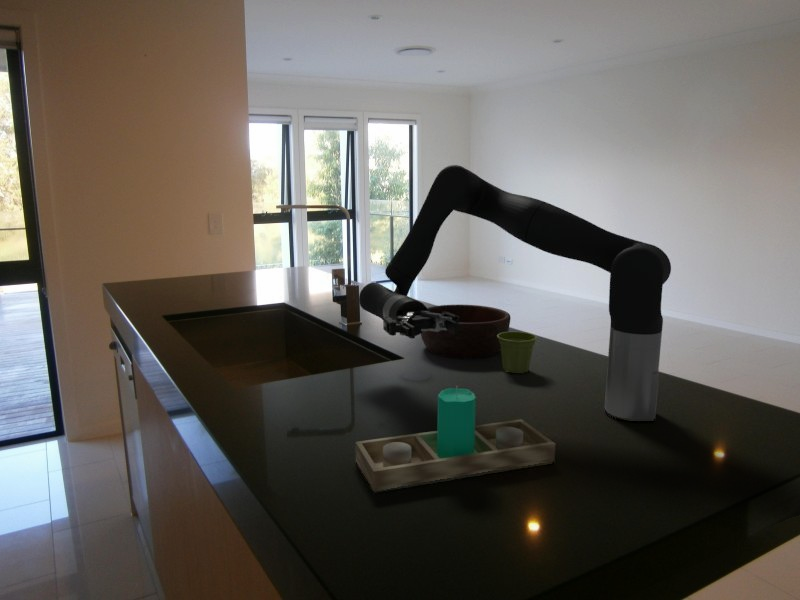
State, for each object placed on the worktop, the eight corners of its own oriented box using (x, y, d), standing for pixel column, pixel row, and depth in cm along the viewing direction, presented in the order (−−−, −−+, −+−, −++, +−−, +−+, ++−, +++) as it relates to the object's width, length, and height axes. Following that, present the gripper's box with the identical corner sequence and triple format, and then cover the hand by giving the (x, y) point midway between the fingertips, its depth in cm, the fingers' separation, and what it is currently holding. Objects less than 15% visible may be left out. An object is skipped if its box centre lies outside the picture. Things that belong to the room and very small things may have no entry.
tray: (520, 437, 105) (521, 416, 104) (554, 463, 95) (555, 440, 94) (355, 462, 95) (355, 438, 94) (373, 493, 85) (373, 468, 85)
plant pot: (506, 378, 138) (507, 342, 136) (489, 366, 147) (490, 332, 145) (542, 374, 140) (544, 339, 139) (523, 363, 149) (525, 330, 148)
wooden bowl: (408, 358, 153) (409, 320, 151) (427, 335, 177) (427, 302, 175) (506, 365, 148) (507, 325, 146) (511, 341, 171) (513, 306, 169)
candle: (451, 445, 99) (452, 377, 97) (481, 455, 95) (483, 385, 93) (429, 457, 95) (430, 385, 93) (459, 468, 91) (461, 394, 89)
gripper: (372, 299, 120) (398, 314, 105) (436, 294, 125) (470, 307, 110) (372, 335, 121) (398, 354, 106) (436, 329, 126) (470, 347, 111)
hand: (435, 330), depth 108 cm, fingers open, 8 cm apart
